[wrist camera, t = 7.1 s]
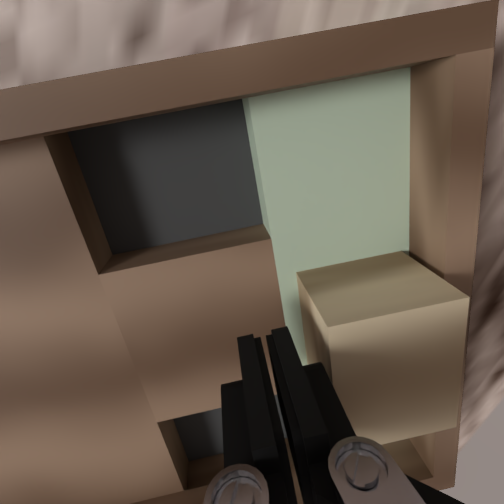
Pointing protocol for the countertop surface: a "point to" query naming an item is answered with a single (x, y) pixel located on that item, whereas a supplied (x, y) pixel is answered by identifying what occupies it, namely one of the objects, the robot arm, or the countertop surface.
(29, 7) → the countertop surface
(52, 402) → the box
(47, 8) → the countertop surface
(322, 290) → the maple block
